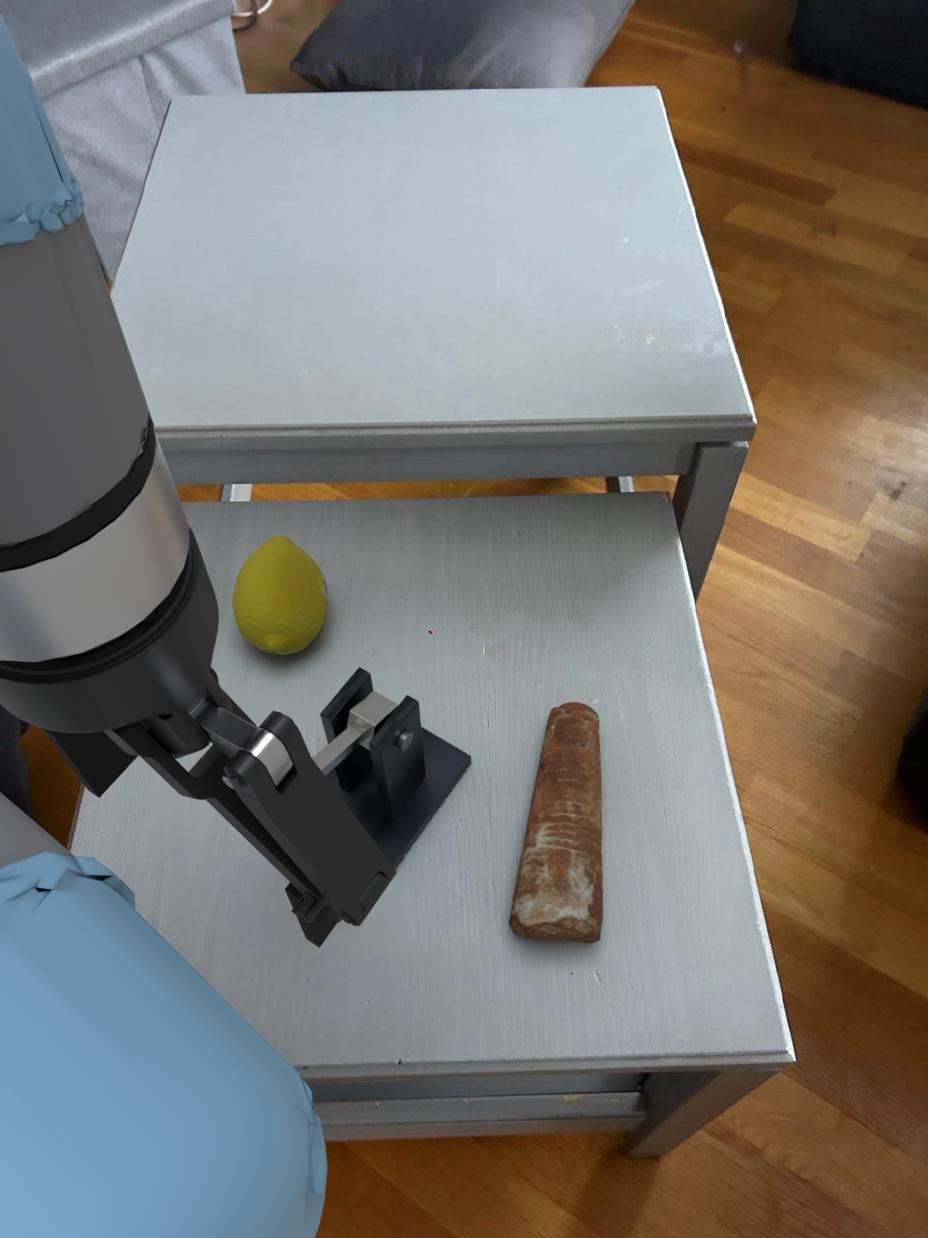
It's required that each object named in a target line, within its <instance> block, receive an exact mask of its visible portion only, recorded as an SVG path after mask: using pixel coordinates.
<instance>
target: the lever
mask: <svg viewBox="0 0 928 1238" xmlns="http://www.w3.org/2000/svg"><path fill="white" fill-rule="evenodd" d="M398 705H399V704H398V703H396V702H395V701H393V700H391V699H389V698H387V697H386V696H384V695H382V694H381V693H379V692H377V691H375V690H374V691H372V692H371V693H370V694H368V695H367V696H366V697H365V698H364V699H362V700H361V701H360V702H359V703H358V704H356V705H355V706H354V707H353V708H352V709H350V710H349V715H348V721H347V727H346V730H344V731H343V732H342V733H341V734H340V735H339V736H337V737H336V738H335V739H334V740H333V741H332V742H330V743H329V744H328V743H327V745H326V746H325V747H323V748H322V749H321V750H320V751H318V753H316V754H315V755H314V756H313V757H311V758H312V759H313V760H314V762H315V763H316V764H317V766H318V767H319V768H320V770H321V771H322V772H323V774H324V775H325V776H326V775H327V774H328V773H329V772H330V771H331V770H332V769H333V768H335V767H336V766H337V765H338V764H339V763H340V762H341V761H342V760H343V759H345V758H346V757H347V756H348V755H349V754H350V753H351V752H352V751H353V750H355V749H356V748H357V747H358V746H359V745H361V746H363V747H365V748H366V749H368V750H370V748H369V742H370V741H371V740H372V738H373V737H374V736H375V735H376V733H377V732H378V731H379V730H380V728H381V727H382V726H383V724H384V723H385V722H386V721H387V719H388V718H389V717H390V716H391V714H392V713H393V712H394V711H395V709H396V708H397V707H398Z"/></svg>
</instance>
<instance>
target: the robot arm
mask: <svg viewBox="0 0 928 1238" xmlns="http://www.w3.org/2000/svg"><path fill="white" fill-rule="evenodd" d="M83 196H84V195H83V192H82V189H81V186H80V182H79V179H78V177H77V176H76V175H75V174H74V173H73V172H72V171H71V169H70V167H69V164H68V161H67V159H66V157H65V155H64V152H63V150H62V148H61V145H60V143H59V140H58V138H57V136H56V133H55V131H54V129H53V126H52V124H51V121H50V120H49V117H48V114H47V112H46V111H45V107H44V106H43V103H42V100H41V98H40V96H39V94H38V91H37V88H36V86H35V83H34V81H33V78H32V76H31V73H30V71H29V69H28V66H27V64H26V63H24V61H23V59H22V58H21V55H20V53H19V50H18V48H17V47H16V44H15V41H14V40H13V37H12V35H11V33H10V30H9V29H8V26H7V23H6V22H5V18H4V17H3V15H2V14H1V12H0V705H1V706H2V708H4V709H5V710H6V711H8V712H9V713H10V714H12V715H13V716H14V717H16V718H18V719H20V720H21V721H23V722H25V723H27V724H29V725H32V726H34V727H37V728H40V729H42V730H43V732H44V733H45V734H46V736H47V737H48V739H49V740H50V741H51V742H52V744H53V745H54V747H55V748H56V749H57V750H58V752H59V753H60V754H61V756H62V757H63V759H64V760H65V762H66V763H67V764H68V766H69V767H70V768H71V769H72V771H73V772H74V774H75V775H76V776H77V777H78V779H79V780H80V782H81V783H82V784H83V786H84V787H85V789H86V790H87V791H88V792H89V793H91V794H92V795H94V796H95V797H97V798H98V799H100V798H102V796H103V795H104V794H105V793H106V792H107V791H108V790H109V788H110V787H111V786H112V785H113V784H114V783H115V782H116V781H117V780H118V779H119V778H120V776H121V775H123V773H124V772H126V770H127V769H128V768H129V767H130V766H131V765H132V763H133V762H134V761H136V759H137V758H138V757H139V758H142V760H143V761H144V762H145V763H146V764H147V765H149V767H151V769H152V770H153V771H155V772H156V774H158V775H159V776H160V778H162V779H163V780H164V781H165V782H166V783H167V784H168V785H169V786H170V787H171V788H172V789H173V790H174V791H176V792H177V793H178V794H179V795H180V796H182V797H184V798H190V799H194V800H199V801H206V802H207V803H208V804H209V805H210V806H211V807H212V808H213V809H214V810H215V811H217V812H218V813H219V815H221V817H222V818H224V819H225V820H226V821H227V822H228V823H229V824H230V825H231V826H232V827H233V829H235V830H236V832H238V833H239V834H240V835H241V836H242V837H243V838H244V839H245V840H246V841H247V842H248V843H249V844H250V845H251V846H252V847H253V848H254V849H255V850H256V851H257V852H258V853H259V854H260V855H261V856H262V857H264V859H265V860H267V862H269V863H270V864H271V865H272V866H273V867H274V868H275V869H276V871H278V872H279V873H280V874H281V875H282V876H283V877H284V878H285V879H286V880H287V881H288V884H287V885H286V887H284V891H285V893H286V896H287V898H288V900H289V903H290V906H291V907H292V908H291V912H292V913H293V914H294V915H295V917H296V919H297V921H298V924H299V926H300V928H301V931H302V933H303V935H304V938H305V940H307V941H308V942H310V943H311V944H313V945H314V946H316V947H317V948H319V949H320V948H321V947H322V946H323V944H324V943H325V941H326V940H327V938H328V937H329V936H330V935H331V933H332V931H333V930H334V929H335V927H336V926H337V924H340V922H342V921H343V922H344V923H346V924H348V925H352V926H353V927H361V926H362V924H363V923H364V921H365V920H366V918H367V917H368V915H369V914H370V913H371V911H372V909H373V908H374V907H375V905H376V904H377V902H378V901H379V900H380V898H381V897H382V895H383V894H384V892H385V891H386V889H387V888H388V886H389V885H390V884H391V882H392V881H393V880H394V878H395V877H396V875H397V873H398V872H397V870H396V869H395V868H394V867H393V866H392V864H391V863H390V862H389V860H388V859H387V858H386V856H385V855H384V854H383V852H382V851H381V850H380V848H379V847H378V846H377V844H376V843H375V842H374V840H373V839H372V838H371V836H370V835H369V834H368V832H367V831H366V830H365V828H364V827H363V826H362V824H361V823H360V822H359V820H358V819H357V818H356V816H355V815H354V814H353V812H352V811H351V810H350V808H349V807H348V806H347V804H346V803H345V802H344V800H343V799H342V798H341V796H340V795H339V794H338V792H337V791H336V790H335V788H334V787H333V786H332V784H331V783H330V782H329V780H328V779H327V778H326V776H325V775H324V774H323V772H322V771H321V770H320V768H319V767H318V766H317V764H316V763H315V762H314V760H313V759H312V758H313V757H312V756H311V754H310V751H309V749H308V746H307V744H306V742H305V740H304V738H303V737H304V736H303V735H302V733H301V730H300V729H299V727H298V725H296V724H295V721H294V720H293V719H292V718H291V717H290V716H288V715H286V714H283V713H282V711H277V710H272V711H271V712H270V713H269V715H267V716H266V718H265V719H264V720H263V721H262V722H261V724H259V726H258V725H257V724H256V723H255V722H254V721H253V720H252V719H251V718H250V717H249V715H248V714H247V713H246V712H245V711H244V710H243V709H242V708H241V707H240V706H239V705H238V704H237V703H236V701H234V699H233V698H232V697H231V696H230V695H229V694H228V693H227V692H226V691H225V690H224V689H223V688H222V687H221V685H220V682H219V675H218V674H217V672H216V670H215V669H214V668H213V667H212V662H213V657H214V651H215V647H216V642H217V639H218V638H217V637H218V632H219V623H220V616H219V615H220V612H219V611H220V610H219V604H218V599H217V596H216V592H215V589H214V586H213V582H212V580H211V578H210V575H209V572H208V568H207V567H206V564H205V561H204V558H203V555H202V551H201V549H200V547H199V544H198V541H197V538H196V536H195V533H194V532H193V530H192V528H191V527H190V524H189V521H188V518H187V515H186V512H185V509H184V505H183V503H182V501H181V497H180V496H179V493H178V490H177V487H176V485H175V482H174V479H173V476H172V474H171V471H170V467H169V465H168V463H167V461H166V457H165V454H164V452H163V449H162V446H161V444H160V442H159V439H158V437H157V433H156V430H155V423H154V421H153V418H152V415H151V412H150V408H149V405H148V402H147V399H146V396H145V394H144V390H143V387H142V385H141V381H140V377H139V376H138V373H137V370H136V366H135V364H134V361H133V357H132V355H131V352H130V349H129V346H128V343H127V340H126V338H125V335H124V331H123V329H122V326H121V322H120V321H119V316H118V314H117V311H116V308H115V305H114V302H113V299H112V296H111V293H110V290H109V287H108V284H107V281H106V279H105V275H104V273H103V270H102V267H101V263H100V261H99V257H98V254H97V252H96V249H95V246H94V244H93V243H94V242H93V240H92V237H91V235H90V232H89V229H88V225H87V223H86V220H85V217H84V214H83V207H84V206H85V205H86V204H85V201H84V198H83ZM210 743H211V744H212V745H211V746H210V747H208V746H209V745H210ZM207 747H208V749H207V750H206V751H205V753H204V754H203V755H202V756H201V757H200V758H199V759H198V760H197V762H196V763H195V764H193V766H192V767H191V768H190V769H189V771H188V770H187V769H186V768H185V767H184V766H183V765H182V764H181V763H180V762H179V761H178V760H177V759H181V758H184V757H186V756H189V755H192V754H194V753H198V752H200V751H203V750H205V749H206V748H207ZM313 1105H314V1104H313V1092H312V1089H311V1088H310V1086H309V1084H307V1082H306V1081H305V1079H304V1078H303V1076H302V1075H301V1074H300V1072H298V1070H297V1069H296V1068H295V1067H294V1066H293V1065H292V1064H291V1063H290V1062H289V1061H288V1060H287V1059H286V1058H285V1057H284V1056H283V1055H282V1054H281V1053H280V1052H279V1051H278V1050H277V1049H276V1048H275V1047H274V1046H273V1045H272V1044H271V1043H270V1042H269V1041H268V1040H267V1039H266V1038H265V1036H263V1035H262V1034H261V1033H260V1032H259V1031H258V1029H256V1028H255V1027H254V1026H253V1025H252V1024H251V1023H250V1022H249V1021H248V1020H247V1019H246V1018H245V1016H243V1015H242V1014H241V1013H240V1012H239V1011H238V1010H237V1009H236V1008H235V1007H234V1006H233V1005H232V1004H231V1003H230V1002H229V1001H228V1000H227V999H226V998H225V997H224V996H223V994H221V993H220V992H219V991H218V990H217V989H216V988H215V987H214V986H213V985H212V984H211V983H210V982H209V981H208V980H207V979H206V978H205V977H204V976H203V975H202V974H201V973H200V972H199V971H198V970H197V969H196V968H195V967H194V966H193V965H192V964H191V962H189V961H188V960H187V959H186V958H185V957H184V956H183V955H182V954H181V953H180V952H179V951H178V950H177V949H176V948H175V947H174V946H173V945H172V944H171V942H169V941H168V940H167V939H166V938H165V937H164V936H163V935H162V934H161V933H160V932H159V931H158V930H157V929H156V928H155V927H154V926H153V925H152V924H151V923H150V922H149V921H148V920H147V919H146V918H145V917H144V916H143V915H141V913H140V912H139V910H136V894H135V893H134V891H133V890H132V889H131V888H130V887H129V886H128V885H127V884H126V883H125V881H124V880H122V879H121V877H119V876H118V875H117V874H115V872H114V871H113V870H111V869H110V868H109V867H107V866H106V865H105V864H104V863H102V862H100V861H99V860H98V859H96V858H94V857H91V856H82V855H81V856H79V855H74V854H73V853H72V852H71V851H69V850H68V849H67V848H66V847H65V846H64V845H62V844H61V842H59V841H58V840H57V839H56V838H55V837H54V836H52V835H51V834H50V833H48V832H47V831H46V830H45V829H44V828H43V827H42V826H40V825H39V824H38V823H37V822H36V821H35V820H33V819H32V818H31V817H30V816H29V815H27V814H26V813H25V812H24V811H23V810H22V809H20V807H18V806H17V805H16V804H15V803H14V802H12V801H11V800H10V799H9V798H7V797H6V796H5V795H4V794H3V793H2V792H0V1238H316V1235H317V1234H318V1230H319V1227H320V1223H321V1219H322V1214H323V1209H324V1204H325V1199H326V1188H327V1177H328V1168H329V1167H328V1159H327V1158H328V1157H327V1147H326V1142H325V1138H324V1133H323V1127H322V1122H321V1118H320V1116H319V1115H317V1113H315V1110H314V1106H313Z"/></svg>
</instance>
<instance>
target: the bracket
mask: <svg viewBox="0 0 928 1238" xmlns="http://www.w3.org/2000/svg"><path fill="white" fill-rule="evenodd" d="M372 691H375V689H374V686H373V679H372V674H371V672H369V671H367V670H366V669H364V668H362V667H361V666H358V668H357V669H356V670H355V671H354V672H353V674H352V675H351V676H350V677H349V678H348V680H347V681H346V682H345V683H344V684H343V686H342V687H341V688H340V689H339V690H338V692H337V693H336V694H335V695H334V697H332V699H331V700H330V701H329V702H328V704H327V705H326V706H325V707H324V708H323V709H322V710H321V712H320V713H319V716H320V720H321V724H322V727H323V730H324V734H325V738H326V741H327V745H328V744H329V743H330V742H332V741H333V740H334V739H335V738H336V737H337V736H339V735H340V734H341V733H342V732H343V731H344V730H346V727H347V721H348V715H349V710H350V709H352V708H353V707H354V706H355V705H356V704H358V703H359V702H360V701H361V700H362V699H364V698H365V697H366V696H367V695H368V694H370V693H371V692H372ZM420 710H421V709H420V702H419V700H417V699H416V698H414V697H413V696H411V695H409V694H406V695H405V696H404V698H403V699H402V700H401V701H400V703H399V704H398V707H397V708H396V709H395V711H394V712H393V713H392V714H391V716H390V717H389V718H388V719H387V721H386V722H385V723H384V724H383V726H382V727H381V728H380V730H379V731H378V732H377V733H376V735H375V736H374V737H373V738H372V740H371V741H370V742H369V748H370V750H368V749H366V748H365V747H363V746H361V745H359V746H358V747H357V748H356V749H355V750H353V751H352V752H351V753H350V754H349V755H348V756H347V757H346V758H345V759H343V760H342V761H341V762H340V763H339V764H338V765H337V766H336V767H335V768H333V769H332V770H331V771H330V772H329V773H328V774H327V775H326V778H327V779H328V780H329V782H330V783H331V784H332V786H333V787H334V788H335V790H336V791H337V792H338V794H339V795H340V796H341V798H342V799H343V800H344V802H345V803H346V804H347V806H348V807H349V808H350V810H351V811H352V812H353V814H354V815H355V816H356V818H357V819H358V820H359V822H360V823H361V824H362V826H363V827H364V828H365V830H366V831H367V832H368V834H369V835H370V836H371V838H372V839H373V840H374V842H375V843H376V844H377V846H378V847H379V848H380V850H381V851H382V852H383V854H384V855H385V856H386V858H387V859H388V860H389V862H390V863H391V864H392V866H393V867H394V868H395V870H396V869H397V868H398V867H399V866H400V864H401V863H402V861H403V859H404V858H405V857H406V855H407V854H408V853H409V851H410V849H412V847H413V846H414V844H415V843H416V841H417V840H418V838H419V837H420V836H421V834H422V833H423V831H424V830H425V828H426V827H427V826H428V824H429V823H430V821H431V820H432V819H433V818H434V816H435V815H436V813H437V812H438V811H439V809H440V808H441V806H442V805H443V803H444V802H445V800H446V799H447V798H448V796H449V795H450V794H451V792H452V791H453V789H454V788H455V786H456V785H457V784H458V783H459V781H460V779H461V778H462V777H463V775H465V772H466V771H467V770H468V768H469V767H470V766H471V764H472V755H471V754H469V753H467V752H465V751H463V750H461V749H460V748H458V747H457V746H455V745H453V744H451V743H450V742H448V741H447V740H445V739H443V738H442V737H439V736H438V735H436V734H435V733H433V732H431V731H430V730H428V729H426V728H425V727H423V726H422V720H421V711H420Z"/></svg>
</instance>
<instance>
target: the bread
mask: <svg viewBox="0 0 928 1238" xmlns="http://www.w3.org/2000/svg"><path fill="white" fill-rule="evenodd" d="M600 736H601V735H600V716H599V714H598V713H597V712H596V710H595V709H594V708H592V707H591V706H590V705H588V704H586V703H582V702H579V701H568V702H566V703H563V704H560V705H559V706H556V707H553V708H551V709H550V712H549V713H548V717H547V720H546V726H545V731H544V736H543V743H542V747H541V751H540V756H539V757H540V758H539V762H538V767H537V772H536V776H535V781H534V786H533V791H532V797H531V800H530V808H529V812H528V816H527V822H526V829H525V835H524V838H523V846H522V851H521V854H520V858H519V862H518V863H519V864H518V869H517V873H516V878H515V879H516V880H515V885H514V890H513V894H512V902H511V908H510V915H509V917H508V926H509V927H510V929H511V931H512V933H514V934H515V935H516V936H518V937H521V938H522V939H525V940H531V939H534V940H535V941H536V940H545V939H547V940H549V941H553V940H558V941H568V942H574V943H575V942H581V943H585V944H594V943H597V942H600V941H601V938H602V934H601V933H602V925H603V920H604V919H603V918H604V905H603V904H604V897H603V896H604V895H603V893H604V890H603V883H604V880H603V879H604V877H603V864H604V863H603V851H602V839H603V820H602V819H603V799H602V798H603V795H602V767H601V761H602V760H601V758H602V757H601V742H600V741H601V740H600Z"/></svg>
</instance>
